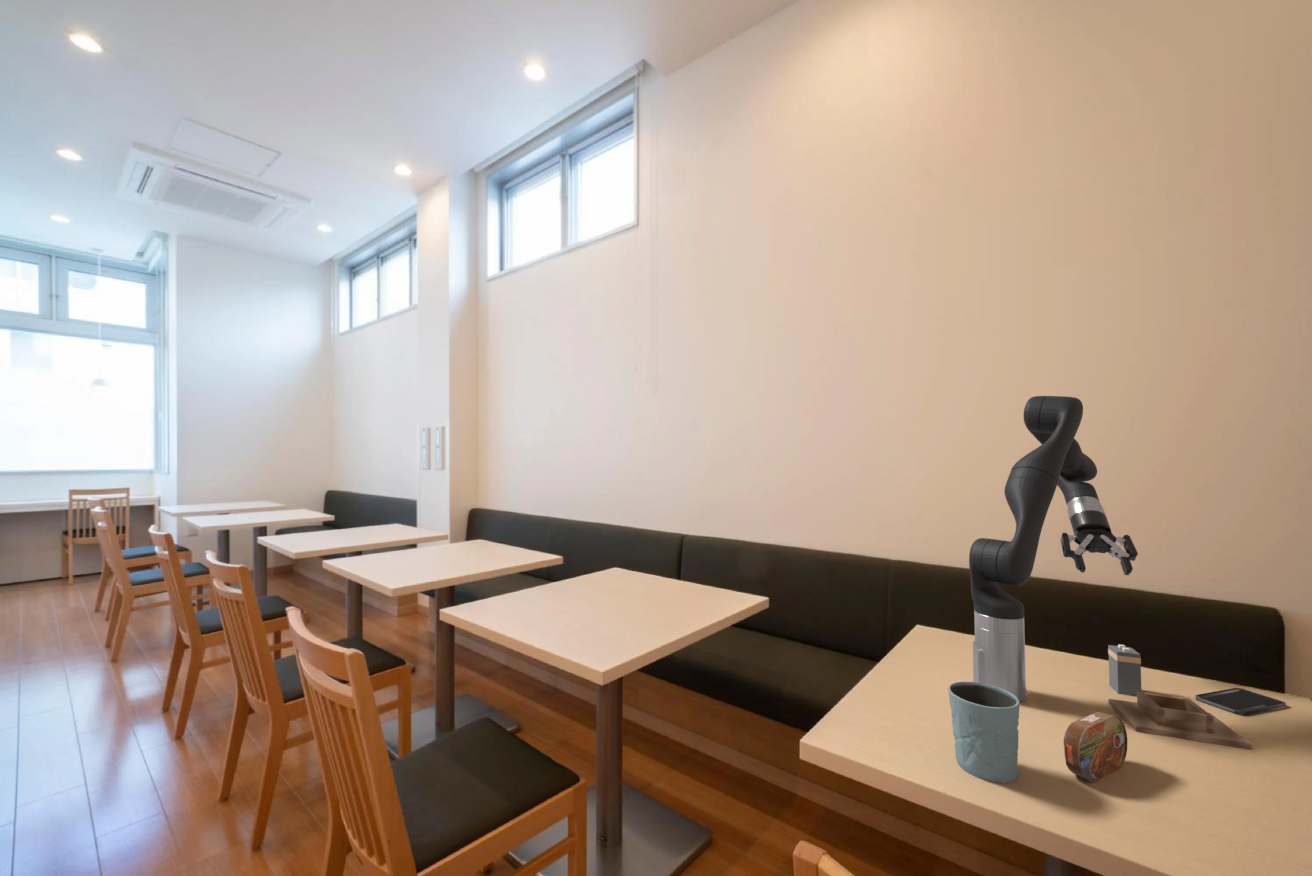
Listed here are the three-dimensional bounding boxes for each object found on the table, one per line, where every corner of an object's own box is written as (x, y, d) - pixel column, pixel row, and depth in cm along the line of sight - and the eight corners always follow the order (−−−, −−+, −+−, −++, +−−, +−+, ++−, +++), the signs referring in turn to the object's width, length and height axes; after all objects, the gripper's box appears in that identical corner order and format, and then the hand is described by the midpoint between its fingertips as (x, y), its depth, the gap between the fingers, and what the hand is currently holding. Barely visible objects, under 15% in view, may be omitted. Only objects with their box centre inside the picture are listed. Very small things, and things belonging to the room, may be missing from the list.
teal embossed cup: (1023, 793, 80) (1021, 714, 80) (947, 772, 85) (946, 697, 86) (1019, 761, 89) (1017, 689, 89) (950, 743, 94) (949, 676, 94)
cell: (1118, 693, 114) (1116, 649, 115) (1109, 685, 118) (1107, 642, 119) (1142, 696, 113) (1140, 651, 113) (1131, 688, 117) (1130, 644, 117)
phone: (1192, 695, 112) (1238, 687, 116) (1192, 700, 112) (1238, 692, 116) (1242, 712, 104) (1289, 703, 108) (1242, 718, 104) (1289, 708, 108)
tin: (1082, 788, 81) (1081, 733, 82) (1060, 777, 84) (1058, 724, 85) (1130, 763, 88) (1129, 712, 88) (1107, 754, 91) (1106, 704, 91)
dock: (1136, 731, 98) (1135, 709, 99) (1108, 703, 109) (1108, 684, 110) (1251, 749, 92) (1250, 726, 93) (1209, 718, 104) (1208, 697, 104)
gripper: (1056, 508, 138) (1071, 561, 127) (1126, 509, 132) (1147, 565, 121) (1052, 525, 143) (1066, 578, 132) (1118, 527, 137) (1139, 582, 126)
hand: (1105, 572), depth 127 cm, fingers open, 8 cm apart
